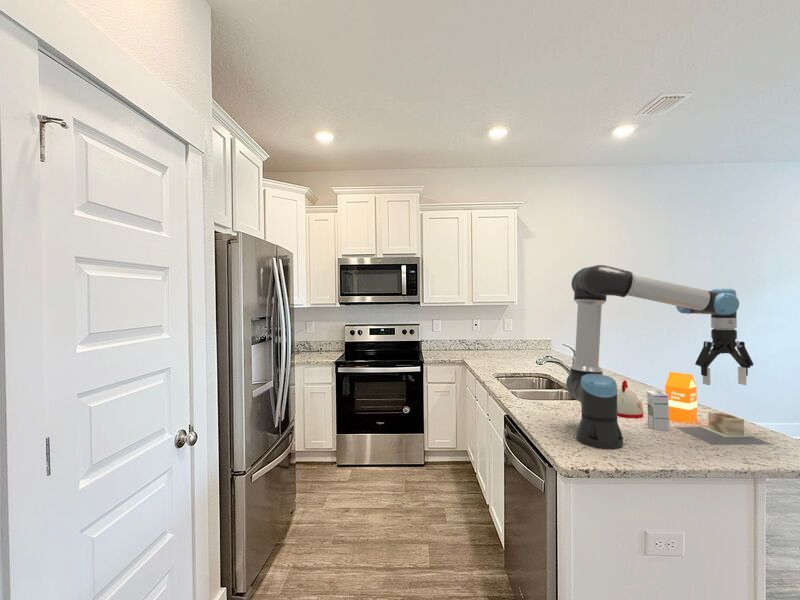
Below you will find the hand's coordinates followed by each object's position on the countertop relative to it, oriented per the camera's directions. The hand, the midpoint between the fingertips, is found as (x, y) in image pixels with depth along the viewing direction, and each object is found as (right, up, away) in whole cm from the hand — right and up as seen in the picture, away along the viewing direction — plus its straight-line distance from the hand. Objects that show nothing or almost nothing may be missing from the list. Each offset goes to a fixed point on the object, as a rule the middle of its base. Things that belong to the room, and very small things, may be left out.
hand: (724, 384), depth 147 cm
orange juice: (-5, -19, +16) cm, 26 cm away
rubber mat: (-5, -19, -4) cm, 20 cm away
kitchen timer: (-22, -19, +27) cm, 40 cm away
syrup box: (-22, -19, +6) cm, 29 cm away
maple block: (0, -18, 0) cm, 18 cm away
